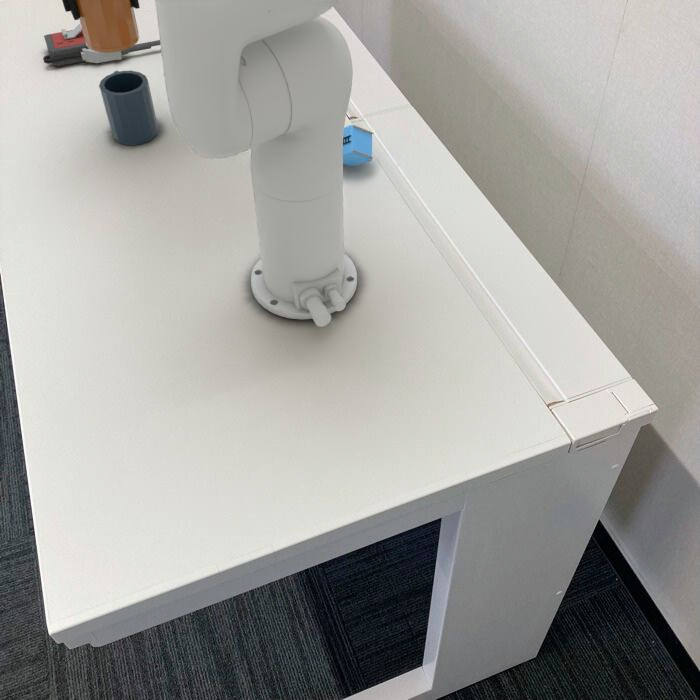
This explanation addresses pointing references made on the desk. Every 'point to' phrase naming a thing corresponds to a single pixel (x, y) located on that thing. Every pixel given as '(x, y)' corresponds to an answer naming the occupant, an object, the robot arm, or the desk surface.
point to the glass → (108, 24)
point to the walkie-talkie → (81, 49)
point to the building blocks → (356, 145)
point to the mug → (129, 107)
